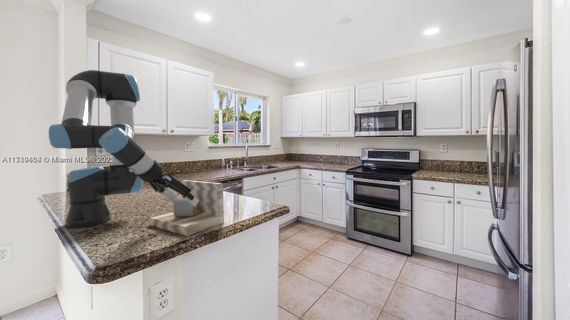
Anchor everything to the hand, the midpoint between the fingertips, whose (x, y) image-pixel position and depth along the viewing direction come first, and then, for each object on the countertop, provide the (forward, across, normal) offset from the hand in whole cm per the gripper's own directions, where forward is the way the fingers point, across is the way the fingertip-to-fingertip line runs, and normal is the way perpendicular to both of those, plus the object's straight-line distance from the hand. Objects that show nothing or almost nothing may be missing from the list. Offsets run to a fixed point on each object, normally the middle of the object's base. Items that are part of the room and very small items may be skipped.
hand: (185, 201), depth 97 cm
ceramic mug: (+5, -2, -4) cm, 6 cm away
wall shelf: (+6, 0, -7) cm, 9 cm away
